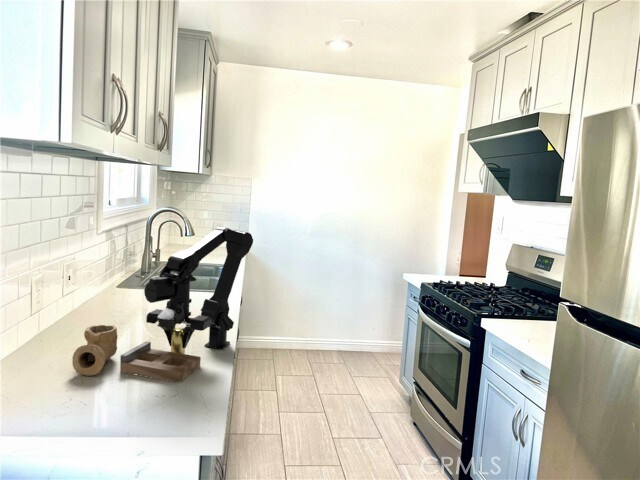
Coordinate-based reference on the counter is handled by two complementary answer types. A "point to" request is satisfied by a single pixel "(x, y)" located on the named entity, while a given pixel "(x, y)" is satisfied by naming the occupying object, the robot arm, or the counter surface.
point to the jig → (158, 363)
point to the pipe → (95, 349)
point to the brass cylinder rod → (177, 341)
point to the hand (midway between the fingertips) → (177, 347)
